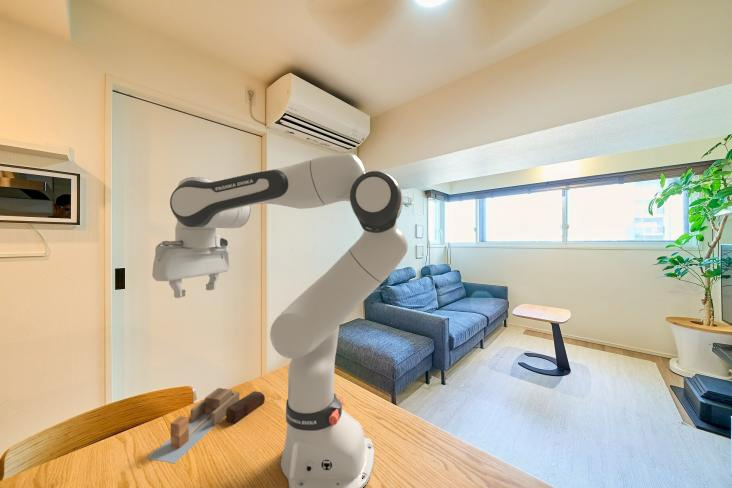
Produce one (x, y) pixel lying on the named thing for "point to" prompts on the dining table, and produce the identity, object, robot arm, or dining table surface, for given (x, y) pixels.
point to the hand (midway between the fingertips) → (196, 293)
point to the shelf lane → (197, 415)
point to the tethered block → (181, 424)
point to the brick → (244, 407)
